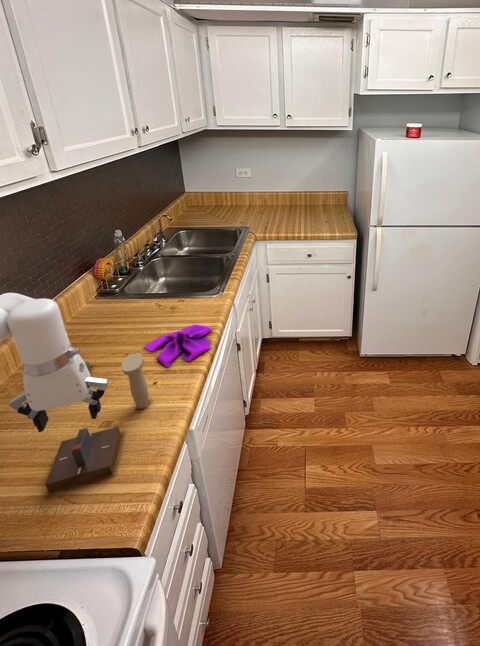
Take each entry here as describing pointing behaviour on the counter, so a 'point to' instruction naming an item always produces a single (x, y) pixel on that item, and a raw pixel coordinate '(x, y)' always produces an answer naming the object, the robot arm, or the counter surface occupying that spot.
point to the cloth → (181, 344)
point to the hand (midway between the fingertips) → (70, 419)
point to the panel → (95, 466)
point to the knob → (81, 446)
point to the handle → (136, 379)
